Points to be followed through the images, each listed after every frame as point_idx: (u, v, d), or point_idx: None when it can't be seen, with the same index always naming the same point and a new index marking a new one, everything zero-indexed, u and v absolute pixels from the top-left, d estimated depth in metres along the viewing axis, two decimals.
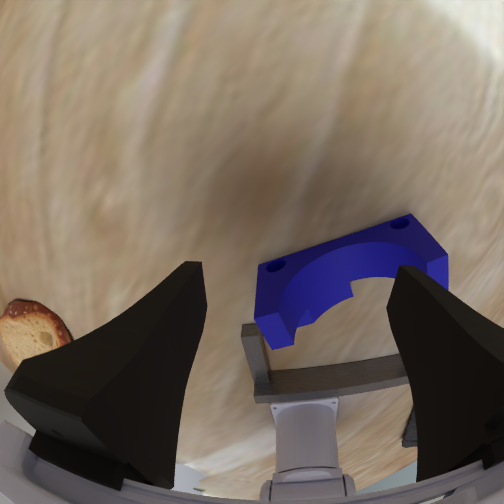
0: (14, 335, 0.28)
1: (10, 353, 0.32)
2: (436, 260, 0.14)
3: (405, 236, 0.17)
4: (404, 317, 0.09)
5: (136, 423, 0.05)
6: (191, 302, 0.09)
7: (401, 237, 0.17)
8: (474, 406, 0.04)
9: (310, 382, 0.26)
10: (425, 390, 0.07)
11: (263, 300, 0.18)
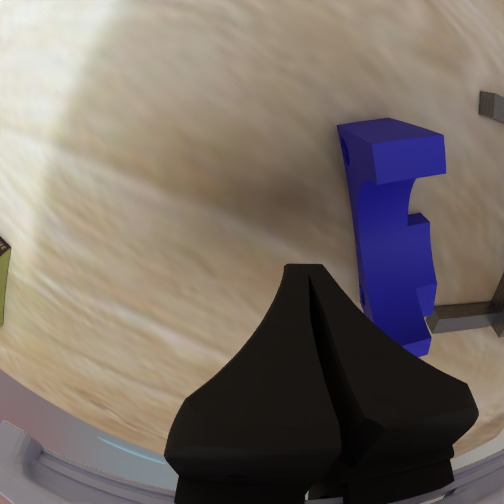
0: None
1: None
2: (378, 164, 0.09)
3: (354, 164, 0.12)
4: None
5: None
6: None
7: (355, 170, 0.13)
8: None
9: None
10: None
11: None
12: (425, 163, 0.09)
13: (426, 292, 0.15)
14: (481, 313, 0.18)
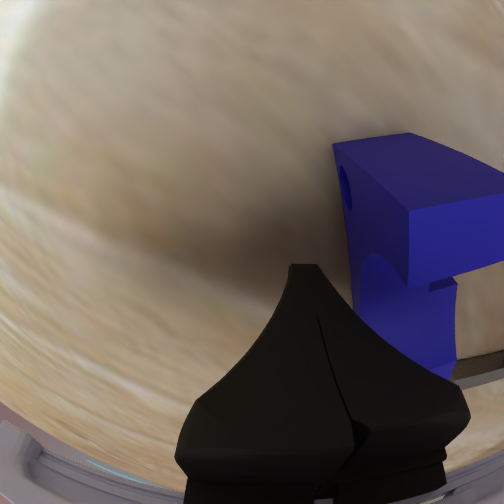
0: None
1: None
2: (415, 251, 0.04)
3: (362, 218, 0.08)
4: None
5: None
6: None
7: (362, 226, 0.08)
8: None
9: None
10: None
11: None
12: (496, 242, 0.04)
13: (442, 371, 0.11)
14: (501, 365, 0.13)
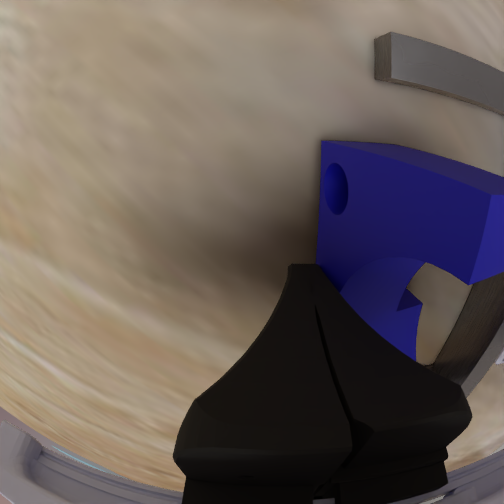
0: None
1: None
2: (482, 242, 0.04)
3: (368, 219, 0.07)
4: None
5: None
6: None
7: (365, 229, 0.07)
8: None
9: (472, 341, 0.11)
10: None
11: None
12: None
13: None
14: None
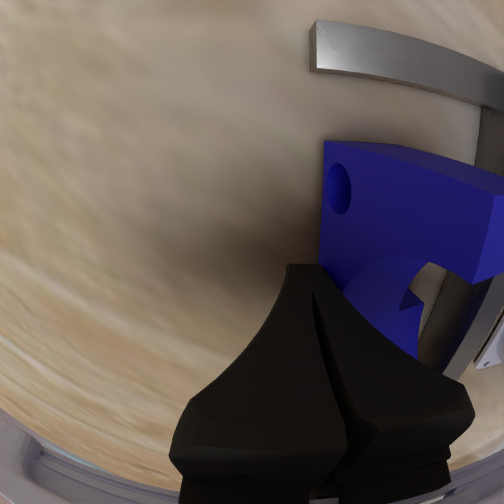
0: None
1: None
2: (485, 242, 0.04)
3: (371, 219, 0.07)
4: None
5: None
6: None
7: (369, 229, 0.07)
8: None
9: (440, 346, 0.11)
10: None
11: None
12: None
13: None
14: None
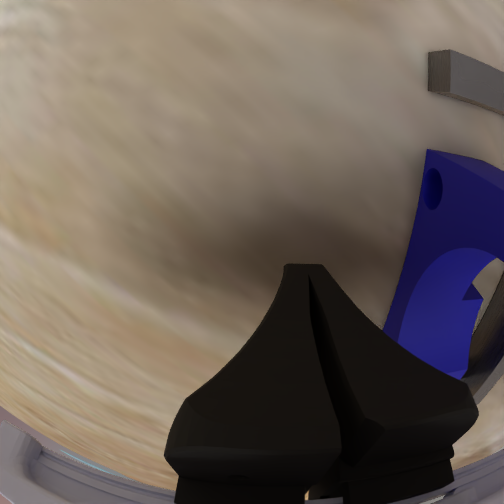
0: None
1: None
2: None
3: (454, 216, 0.07)
4: None
5: None
6: None
7: (452, 224, 0.08)
8: None
9: (498, 336, 0.11)
10: None
11: None
12: None
13: None
14: None
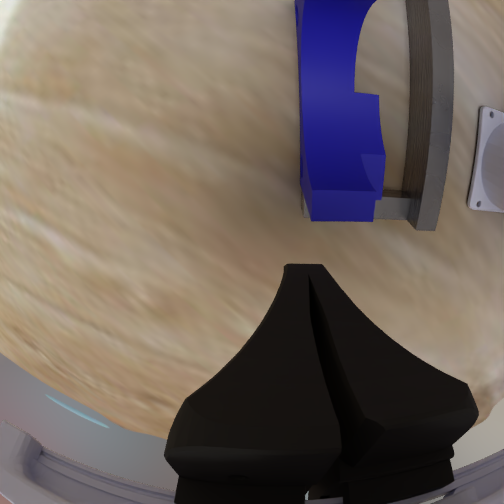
0: None
1: None
2: None
3: (300, 11, 0.11)
4: None
5: None
6: None
7: (300, 16, 0.11)
8: None
9: (420, 138, 0.14)
10: None
11: (308, 198, 0.14)
12: None
13: (373, 163, 0.15)
14: None
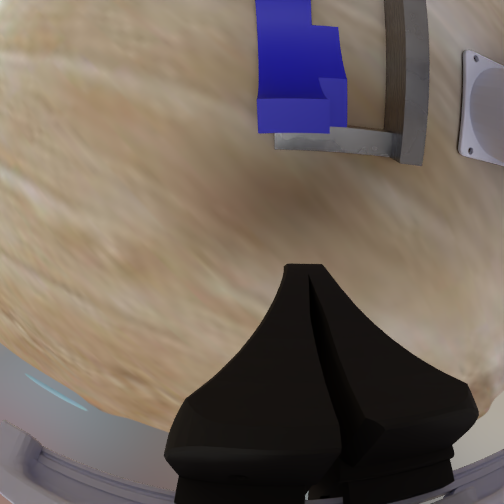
0: None
1: None
2: None
3: None
4: None
5: None
6: None
7: None
8: None
9: (397, 68, 0.13)
10: None
11: None
12: None
13: (334, 88, 0.13)
14: (358, 129, 0.15)
